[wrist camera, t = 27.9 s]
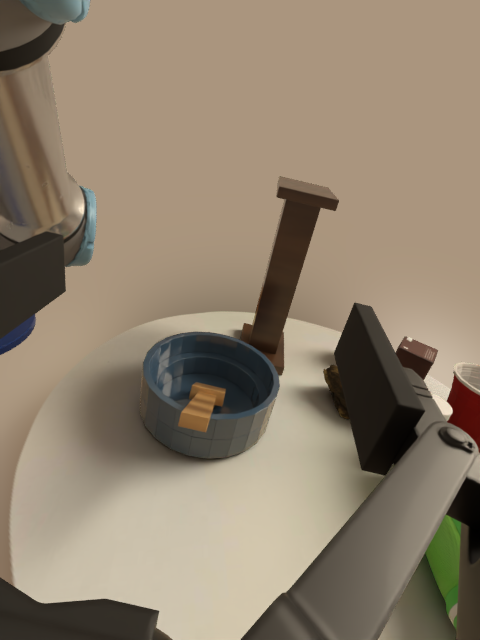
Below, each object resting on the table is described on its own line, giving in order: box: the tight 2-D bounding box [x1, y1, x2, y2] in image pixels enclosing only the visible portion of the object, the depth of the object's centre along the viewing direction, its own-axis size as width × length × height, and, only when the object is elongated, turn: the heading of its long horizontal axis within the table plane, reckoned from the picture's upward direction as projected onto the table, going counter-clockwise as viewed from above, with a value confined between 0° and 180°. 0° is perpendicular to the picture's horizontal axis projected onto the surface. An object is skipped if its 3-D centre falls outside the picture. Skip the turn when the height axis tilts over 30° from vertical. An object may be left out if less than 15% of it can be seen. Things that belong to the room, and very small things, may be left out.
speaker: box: [425, 515, 461, 629], centre depth 36 cm, size 18×7×8 cm, turn 177°
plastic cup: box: [447, 362, 480, 453], centre depth 51 cm, size 11×11×12 cm
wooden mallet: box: [178, 382, 226, 432], centre depth 40 cm, size 21×4×2 cm
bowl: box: [140, 332, 280, 459], centre depth 48 cm, size 18×18×7 cm
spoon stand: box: [240, 176, 339, 375], centre depth 58 cm, size 12×8×29 cm, turn 174°
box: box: [396, 337, 438, 380], centre depth 64 cm, size 6×6×7 cm
